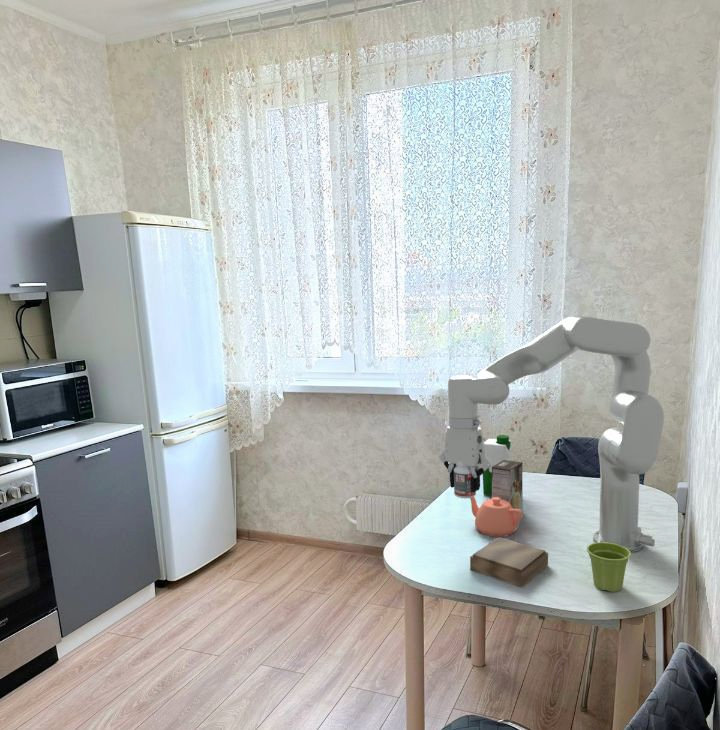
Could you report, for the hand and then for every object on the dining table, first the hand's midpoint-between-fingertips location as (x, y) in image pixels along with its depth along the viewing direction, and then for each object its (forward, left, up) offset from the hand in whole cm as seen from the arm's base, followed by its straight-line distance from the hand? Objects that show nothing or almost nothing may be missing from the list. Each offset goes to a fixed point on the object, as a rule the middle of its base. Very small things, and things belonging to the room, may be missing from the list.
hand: (464, 487), depth 157 cm
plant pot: (-37, -3, -17) cm, 41 cm away
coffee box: (+2, -28, -17) cm, 33 cm away
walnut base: (-15, +3, -17) cm, 23 cm away
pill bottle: (0, 0, -2) cm, 2 cm away
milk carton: (+14, -43, -17) cm, 48 cm away
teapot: (0, -16, -17) cm, 23 cm away
